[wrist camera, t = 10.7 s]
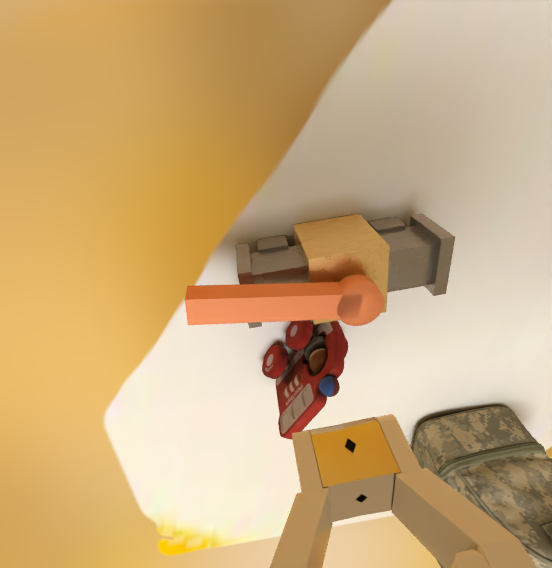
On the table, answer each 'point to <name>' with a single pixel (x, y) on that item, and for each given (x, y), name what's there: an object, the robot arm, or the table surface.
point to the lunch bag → (494, 471)
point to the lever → (285, 302)
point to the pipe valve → (353, 255)
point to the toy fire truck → (306, 372)
